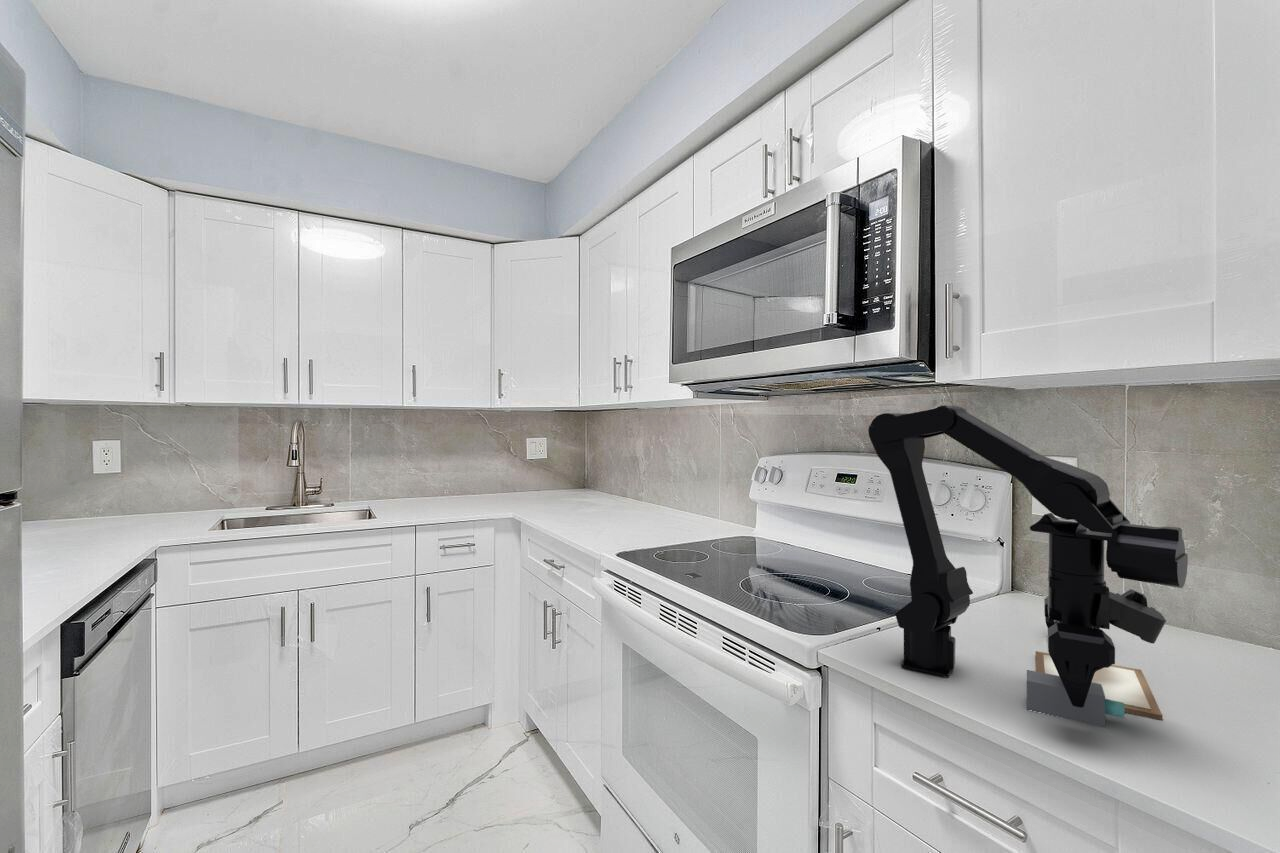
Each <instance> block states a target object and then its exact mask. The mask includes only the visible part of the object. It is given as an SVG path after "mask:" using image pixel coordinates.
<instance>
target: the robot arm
mask: <svg viewBox="0 0 1280 853" xmlns="http://www.w3.org/2000/svg"><path fill="white" fill-rule="evenodd" d="M867 430H868V431H867V432H868V437H869V440H870V442H871V445H872V447H873V449H874V451H875V454H876V456H877V457H878V458H879V459H880V461H881V462H882V463H883V465H884V466H885V467H886V469H887V470H888V471H889V474H890V477H891V482H892V485H893V488H894V492H895V497H896V500H897V504H898V508H899V511H900V512H899V513H900V516H901V520H902V523H903V527H904V532H905V536H906V539H907V543H908V546H909V551H910V555H911V559H912V569H911V574H910V579H909V587H910V588H909V589H910V600H911V601H909V603H907V604H906V605H904V606H903V607H902V608H901V609H899V610H897V611H896V612H895V618H896V621H897V625H898V627H899V628H900V629H903V659H902V661H901V663H900V667H901V668H903V669H908V670H913V671H916V672H922V673H926V674H932V675H934V676H935V675H936V676H941V677H945V678H947V677H950V675H951V671H953V670H954V669H955V667H956V637H955V636H952V626H951V625H954V624H955V623H956V622H957V620H958V618H959V616H961V615H963V614H964V613H965V612H966V611H967V609H968V608H969V607H970V603H971V598H970V595H973V594H974V591H973V590H972V588H971V587H970V584H969V582H968V575H967V570H966V568H965V567H964V566H961V567H957V568H956V567H955V566H954V564H953V563H952V562H951V561H950V559H949V558H948V557H947V554H946V551H945V547H944V543H943V539H942V534H941V532H940V528H939V524H938V521H937V517H936V514H935V508H934V505H933V501H932V499H931V495H930V491H929V489H928V488H929V487H928V484H927V481H926V477H925V476H926V475H925V473H924V469H923V468H924V467H923V460H924V455H925V450H926V449H925V448H926V443H925V439H930V438H932V437H938V436H941V435H946V436H948V437H950V438H952V439H953V440H954V441H956V442H958V443H959V444H961V445H962V446H964V447H966V448H967V449H969V450H970V451H972V452H973V453H975V454H977V455H979V456H980V457H981V458H983V459H985V460H987V461H988V462H990V463H991V464H993V465H994V466H996V467H997V468H999V469H1001V470H1003V471H1004V472H1006V473H1007V474H1009V475H1010V476H1012V477H1014V478H1015V479H1016V480H1017V481H1019V483H1021V484H1022V486H1023V487H1024V488H1025V489H1026V491H1028V493H1029V494H1030V495H1031V496H1032V497H1033V498H1034V499H1035V500H1036V501H1038V502H1039V504H1041V506H1043V507H1044V508H1045V509H1047V511H1049V513H1044V514H1043V515H1042V517H1041V518H1040V519H1039V520H1038V521H1036V522H1035V523H1034V524H1032V525H1030V526H1029V530H1030V531H1031V532H1035V533H1037V532H1038V533H1045V534H1048V571H1047V582H1048V596H1047V597H1045V598H1044V603H1043V605H1044V606H1043V607H1044V608H1043V609H1044V611H1043V612H1044V613H1043V614H1044V618H1045V619H1044V620H1045V625H1046V628H1047V651H1048V652H1047V653H1049V655H1050V657H1051V659H1052V661H1053V663H1054V665H1055V667H1056V670H1057V672H1058V674H1059V676H1060V679H1061V681H1062V683H1063V685H1064V687H1065V690H1066V692H1067V694H1068V697H1069V699H1070V701H1071V703H1072V705H1073V706H1075V707H1080V708H1083V707H1084V704H1085V701H1086V698H1087V695H1088V692H1089V689H1090V685H1091V682H1092V679H1093V677H1094V674H1095V672H1096V671H1098V670H1100V669H1102V668H1108V667H1110V666H1111V665H1116V647H1115V645H1114V642H1113V639H1112V638H1111V637H1110V636H1109V635H1108V634H1107V633H1106V632H1105V631H1104V630H1103V629H1105V630H1110V624H1111V625H1112V626H1114V627H1116V628H1118V629H1120V630H1122V631H1125V632H1127V633H1129V634H1132V635H1134V636H1136V637H1138V638H1140V640H1142V641H1144V642H1146V643H1149V644H1155V643H1156V642H1157V639H1158V638H1159V635H1160V634H1161V632H1162V630H1163V628H1164V626H1165V624H1166V622H1167V619H1166V618H1165V617H1164V615H1163V614H1162V613H1161V611H1158V610H1156V608H1155V607H1150V606H1148V599H1147V597H1146V596H1145V594H1144V593H1141V592H1139V591H1136V590H1134V589H1129V590H1127V591H1125V592H1124V593H1122V594H1121V593H1118V592H1116V593H1114V592H1112V591H1110V587H1109V586H1107V581H1106V580H1105V560H1106V565H1107V567H1108V568H1109V569H1110V570H1111V572H1114V573H1116V574H1117V577H1118V578H1119V579H1123V580H1130V581H1136V582H1143V583H1148V584H1154V585H1160V586H1166V587H1173V588H1179V589H1183V588H1184V586H1185V584H1186V579H1187V574H1188V563H1189V562H1188V558H1189V557H1188V556H1189V555H1188V553H1186V546H1185V542H1184V539H1183V529H1182V528H1181V527H1176V526H1168V525H1167V526H1150V525H1142V524H1134V523H1131V521H1130V520H1129V519H1128V518H1127V517H1126V516H1125V515H1124V513H1123V512H1122V511H1121V510H1120V509H1119V508H1118V506H1117V505H1116V504H1115V503H1114V502H1113V500H1111V499H1110V495H1111V494H1110V490H1109V486H1108V484H1107V482H1106V481H1105V480H1104V479H1103V478H1101V477H1100V476H1099V475H1098V474H1095V473H1092V472H1090V471H1087V470H1084V469H1082V468H1080V467H1077V466H1074V465H1072V464H1069V463H1066V462H1063V461H1060V460H1056V459H1054V458H1050V457H1047V456H1046V455H1043V454H1040V453H1038V452H1036V451H1034V450H1033V449H1031V448H1030V447H1028V446H1026V445H1024V444H1022V443H1021V442H1019V441H1017V440H1016V439H1014V438H1013V437H1011V436H1009V435H1007V434H1005V433H1003V432H1002V431H1000V430H999V429H997V428H995V427H993V426H991V425H990V424H988V423H986V422H984V421H983V420H981V419H979V418H977V417H976V416H974V415H972V414H970V413H969V412H967V410H966V409H965V408H963V407H962V406H959V405H940V406H937V407H935V408H931V409H927V410H922V411H916V412H909V413H905V412H904V413H903V412H902V413H901V412H900V413H899V412H891V413H889V412H888V413H887V412H884V413H880V414H879V415H877V416H876V417H875V418H874V419H872V421H871V423H870V425H868V429H867ZM1059 518H1060V519H1059ZM1061 519H1064V520H1061ZM1070 520H1074V521H1070ZM1105 541H1106V551H1105ZM1105 553H1106V554H1105ZM1105 557H1106V558H1105Z"/></svg>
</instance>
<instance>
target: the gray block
mask: <svg viewBox="0 0 1280 853" xmlns="http://www.w3.org/2000/svg"><path fill="white" fill-rule="evenodd" d="M1029 710H1032V711H1031V712H1033V711H1036V712H1035V713H1038V712H1041V713H1040V714H1042V713H1045V714H1044V715H1047V714H1049V715H1048V716H1051V715H1053V716H1052V717H1056V716H1058V717H1057V718H1060V717H1062V718H1061V719H1065V720H1069V721H1073V722H1074V721H1075V722H1078V723H1084V724H1088V725H1093V726H1098V727H1102V728H1106V715H1108V716H1113V717H1117V718H1122V719H1124V718H1125V714H1126V712H1125V710H1124V703H1123V702H1119V701H1114V700H1109V699H1105V695H1104V691H1103V688H1102V685H1101V684H1098V683H1093V682H1091V685H1090V689H1089V692H1088V695H1087V698H1086V701H1085V704H1084V707H1083V708H1080V707H1075V706H1073V705H1072V703H1071V701H1070V699H1069V697H1068V694H1067V692H1066V690H1065V687H1064V685H1063V683H1062V681H1061V679H1060V676H1057V675H1051V674H1046V673H1041V672H1036V670H1035V671H1034V670H1030V669H1029V670H1028V669H1026V711H1029Z"/></svg>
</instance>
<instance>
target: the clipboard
mask: <svg viewBox="0 0 1280 853" xmlns="http://www.w3.org/2000/svg"><path fill="white" fill-rule="evenodd" d="M1035 671H1036V672H1041V673H1046V674H1051V675H1057V676H1059V674H1058V672H1057V670H1056V667H1055V665H1054V663H1053V661H1052V659H1051V657H1050V655H1049V652H1043V651H1037V650H1035ZM1092 682H1093V683H1098V684H1101V685H1102V688H1103V691H1104V695H1105V699H1109V700H1114V701H1119V702H1123V703H1124V710H1125V714H1126V713H1127V714H1131V715H1135V714H1136V716H1141V717H1146V718H1152V719H1156V720H1159V721H1160V720H1161V721H1164V720H1163V717H1164V716H1163V713H1162V711H1161V708H1160V707H1159V704H1158V702H1157V701H1156V698H1155V696H1154V694H1153V692H1152V689H1151V688H1150V686H1149V683H1148V681H1147V679H1146V676H1145V675H1144V673H1143V670H1142V669H1139V668H1133V667H1127V666H1123V665H1116V664H1112V665H1111V666H1110V667H1108V668H1102V669H1100V670H1098V671H1096V672H1095V674H1094V677H1093V679H1092Z"/></svg>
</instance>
